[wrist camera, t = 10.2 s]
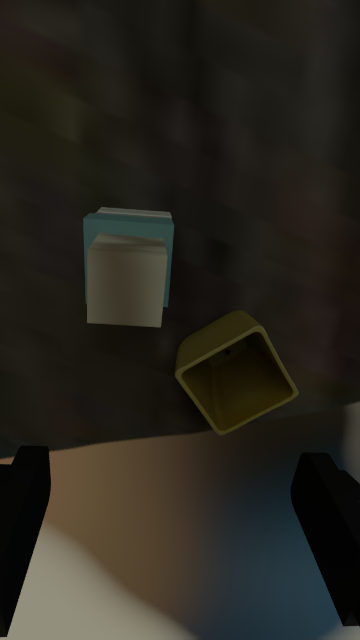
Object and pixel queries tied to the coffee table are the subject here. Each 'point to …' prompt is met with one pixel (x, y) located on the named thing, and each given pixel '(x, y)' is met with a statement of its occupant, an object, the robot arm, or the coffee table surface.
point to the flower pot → (232, 372)
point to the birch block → (126, 280)
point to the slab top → (131, 228)
